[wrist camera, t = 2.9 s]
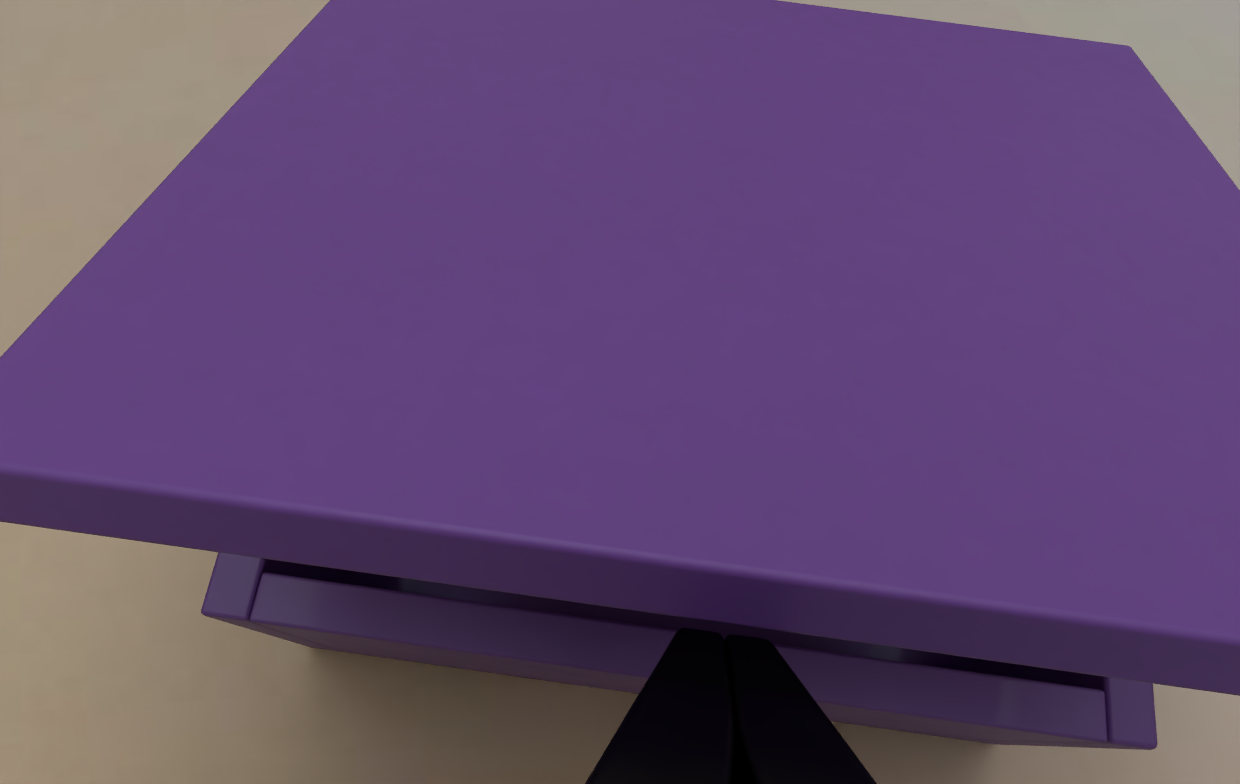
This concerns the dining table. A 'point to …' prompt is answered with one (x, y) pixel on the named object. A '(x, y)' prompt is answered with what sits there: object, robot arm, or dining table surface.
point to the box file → (635, 641)
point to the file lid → (681, 330)
